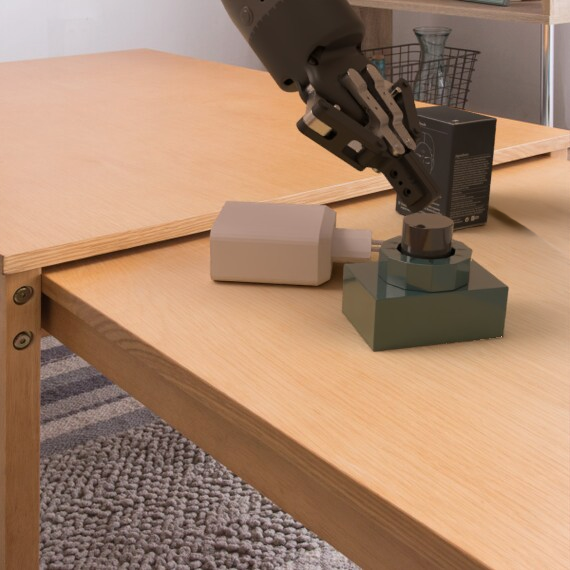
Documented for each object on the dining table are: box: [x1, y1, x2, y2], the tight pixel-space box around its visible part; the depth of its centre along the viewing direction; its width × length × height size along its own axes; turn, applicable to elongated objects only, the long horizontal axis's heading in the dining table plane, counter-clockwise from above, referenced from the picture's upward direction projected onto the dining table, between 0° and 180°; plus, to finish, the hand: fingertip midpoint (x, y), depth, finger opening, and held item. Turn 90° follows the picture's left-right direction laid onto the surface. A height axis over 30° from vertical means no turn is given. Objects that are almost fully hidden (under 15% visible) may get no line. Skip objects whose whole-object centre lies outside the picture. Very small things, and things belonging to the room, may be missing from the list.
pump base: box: [341, 234, 510, 353], centre depth 68 cm, size 10×7×6 cm
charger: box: [209, 200, 385, 287], centre depth 78 cm, size 5×9×15 cm
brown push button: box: [401, 213, 454, 260], centre depth 66 cm, size 4×4×2 cm
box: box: [395, 104, 498, 231], centre depth 91 cm, size 8×6×11 cm
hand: (428, 204), depth 65 cm, fingers closed
